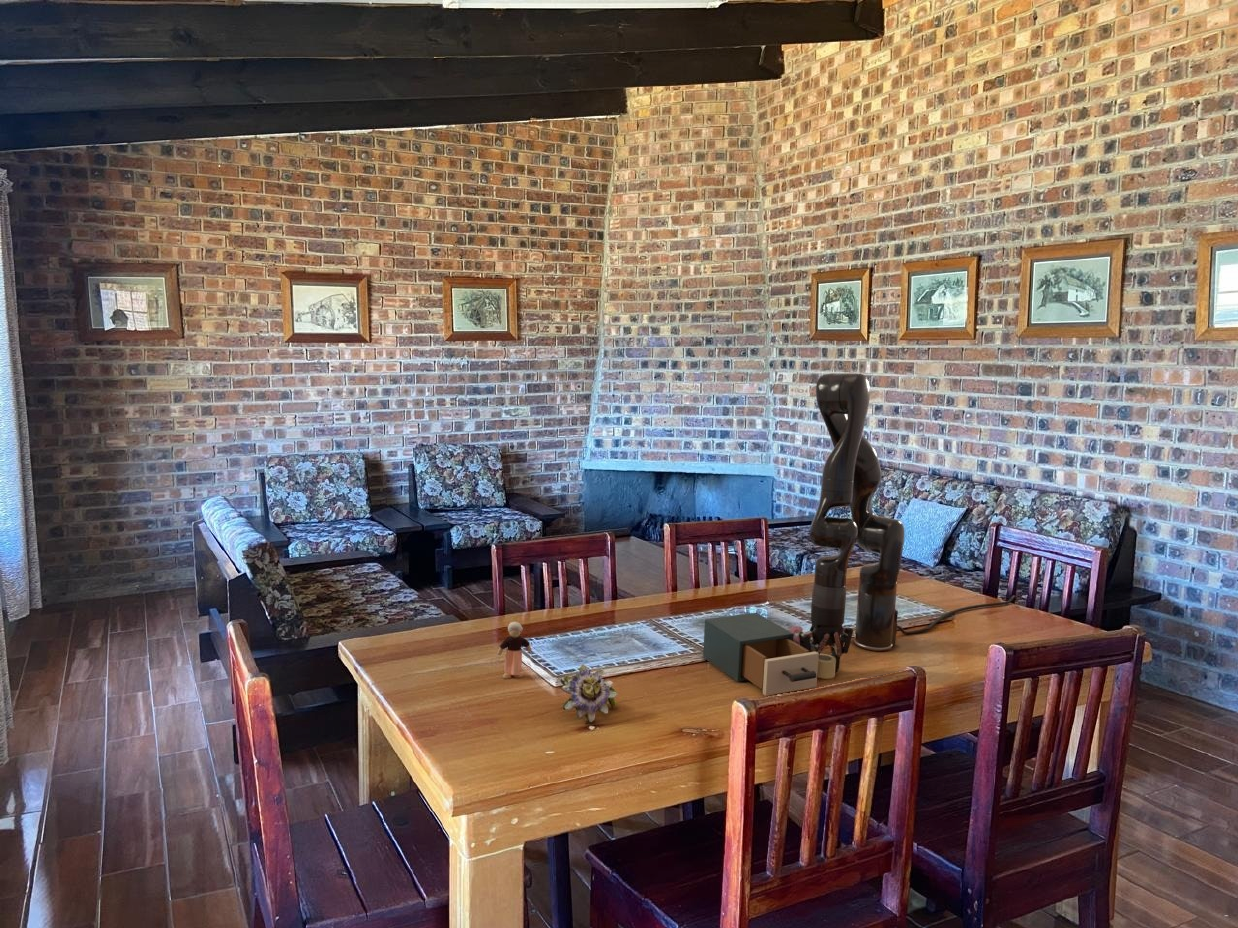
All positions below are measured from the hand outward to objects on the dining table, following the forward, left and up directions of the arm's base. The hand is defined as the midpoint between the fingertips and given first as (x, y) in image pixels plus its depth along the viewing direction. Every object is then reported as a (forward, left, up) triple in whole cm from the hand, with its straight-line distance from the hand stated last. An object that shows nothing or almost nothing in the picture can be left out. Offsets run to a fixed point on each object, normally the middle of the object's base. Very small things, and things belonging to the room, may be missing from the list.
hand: (823, 672), depth 203 cm
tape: (0, 0, 0) cm, 0 cm away
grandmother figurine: (+67, -24, -1) cm, 71 cm away
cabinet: (+14, -11, 0) cm, 18 cm away
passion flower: (+59, -1, -1) cm, 59 cm away
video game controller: (-2, -16, -1) cm, 16 cm away
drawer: (+14, +2, 0) cm, 14 cm away
